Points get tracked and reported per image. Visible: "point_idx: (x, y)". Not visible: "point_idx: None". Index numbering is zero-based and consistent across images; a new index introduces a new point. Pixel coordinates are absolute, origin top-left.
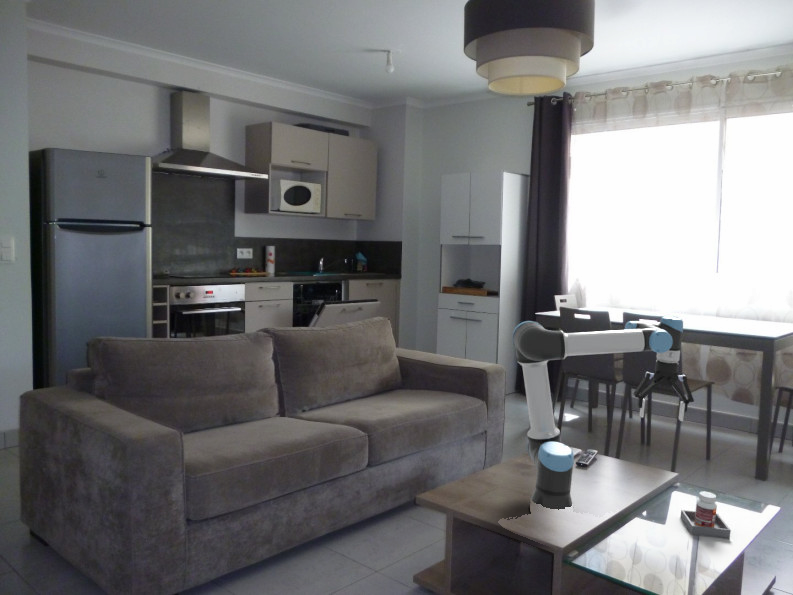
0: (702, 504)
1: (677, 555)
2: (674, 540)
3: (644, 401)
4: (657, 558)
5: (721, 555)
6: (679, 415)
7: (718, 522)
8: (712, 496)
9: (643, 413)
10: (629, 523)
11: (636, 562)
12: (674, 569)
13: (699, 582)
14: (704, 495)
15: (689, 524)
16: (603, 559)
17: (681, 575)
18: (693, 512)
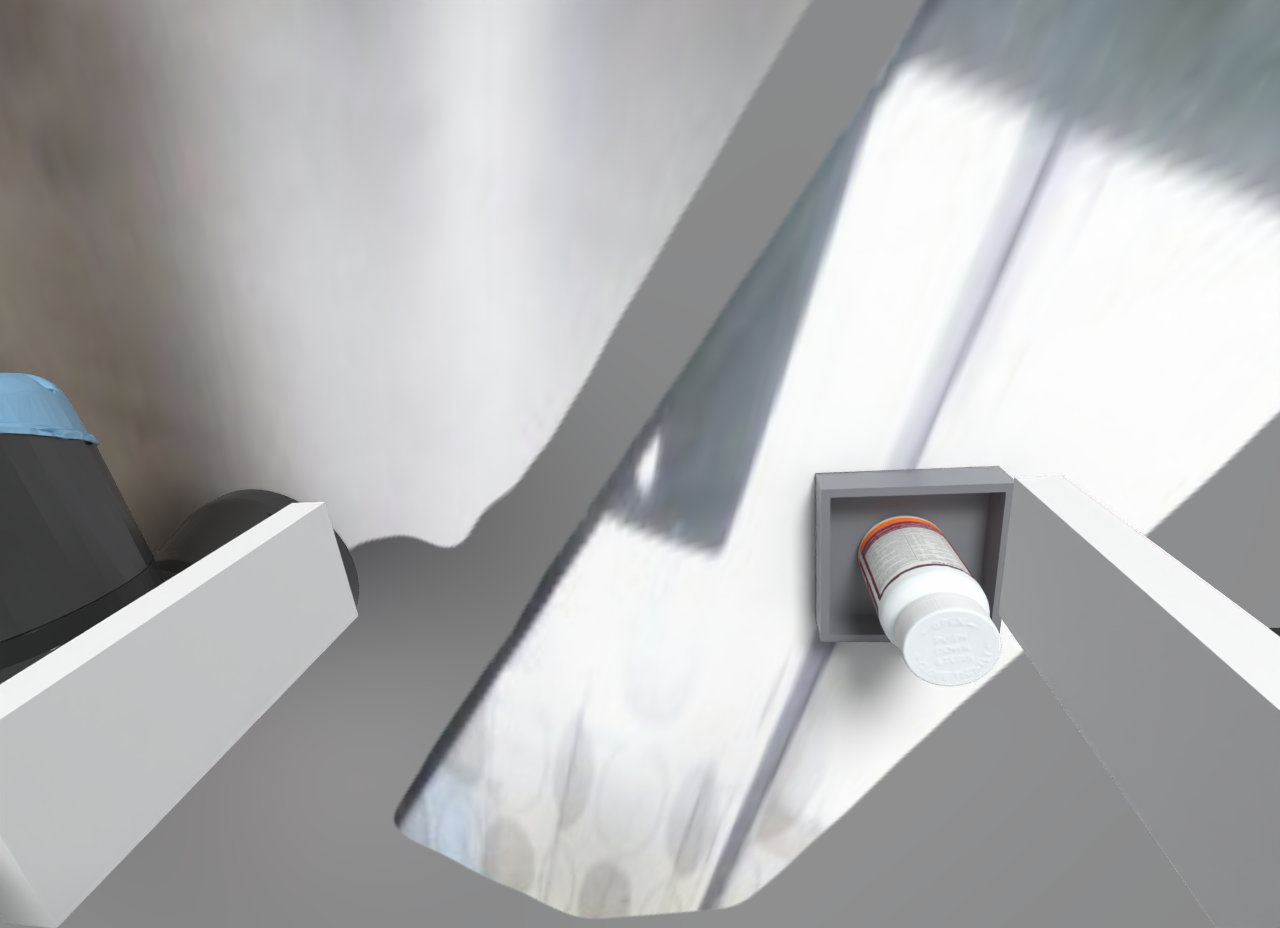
0: (898, 647)
1: (712, 766)
2: (729, 674)
3: (81, 881)
4: (640, 791)
5: (881, 742)
6: (1049, 556)
7: (991, 518)
8: (971, 668)
9: (307, 664)
10: (571, 582)
11: (570, 819)
12: (681, 837)
13: (740, 885)
14: (923, 664)
15: (819, 602)
16: (475, 818)
17: (695, 861)
18: (881, 494)
